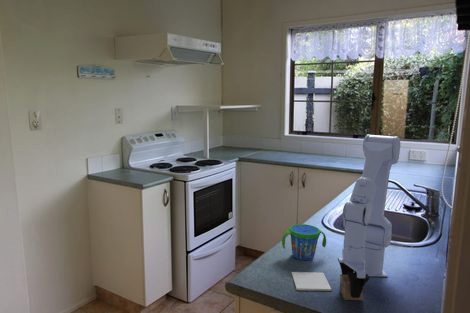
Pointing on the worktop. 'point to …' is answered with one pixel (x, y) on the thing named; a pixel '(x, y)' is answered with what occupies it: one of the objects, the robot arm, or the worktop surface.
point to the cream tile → (310, 281)
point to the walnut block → (347, 288)
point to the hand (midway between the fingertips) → (351, 289)
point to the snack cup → (303, 240)
